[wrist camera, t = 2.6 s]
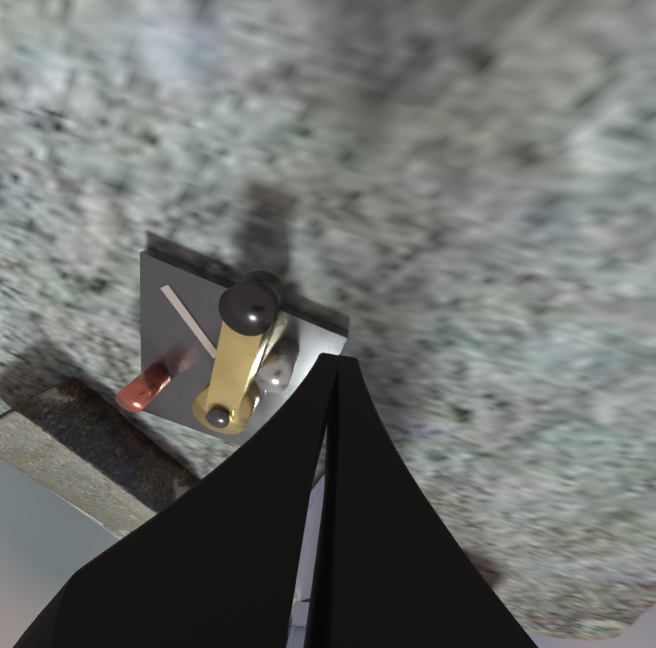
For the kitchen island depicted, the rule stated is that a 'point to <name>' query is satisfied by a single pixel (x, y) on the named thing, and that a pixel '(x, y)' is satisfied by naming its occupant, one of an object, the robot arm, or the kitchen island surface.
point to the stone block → (91, 456)
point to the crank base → (211, 346)
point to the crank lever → (239, 352)
